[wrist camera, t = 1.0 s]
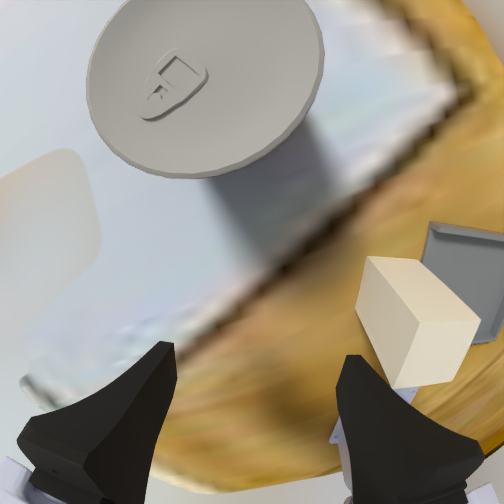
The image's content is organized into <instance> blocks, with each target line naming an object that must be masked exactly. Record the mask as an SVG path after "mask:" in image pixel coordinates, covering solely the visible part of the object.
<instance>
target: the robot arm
mask: <svg viewBox="0 0 504 504" xmlns="http://www.w3.org/2000/svg"><path fill="white" fill-rule="evenodd" d="M176 382H177V370H176V361H175V351H174V343H171V342H164V341H159V342H158V343H157V344H156V345H155V346H154V347H152V348H151V349H150V350H149V351H148V352H147V353H146V354H145V355H144V356H143V357H142V358H141V359H140V360H139V361H137V362H136V363H135V364H134V365H133V366H132V367H131V368H129V369H128V370H127V371H126V372H124V373H123V374H122V375H121V376H119V377H118V378H117V379H115V380H114V381H113V382H111V383H110V384H109V385H107V386H106V387H104V388H103V389H101V390H99V391H98V392H96V393H94V394H92V395H90V396H89V397H87V398H85V399H83V400H81V401H79V402H77V403H74V404H72V405H69V406H67V407H64V408H62V409H59V410H56V411H53V412H49V413H46V414H42V415H38V416H34V417H31V418H30V420H29V421H28V423H27V424H26V426H25V427H24V429H23V430H22V432H21V433H20V435H19V437H18V438H17V444H18V446H19V448H20V449H21V451H22V452H23V453H24V454H25V456H26V457H27V458H28V459H29V460H30V462H31V463H32V464H33V465H34V466H35V467H36V468H35V470H34V471H33V472H32V471H30V470H29V469H28V468H26V467H25V466H23V465H21V464H20V463H18V462H16V461H14V460H13V459H11V458H10V457H8V456H7V457H5V459H4V461H3V462H2V464H1V466H0V504H144V501H145V494H146V487H147V482H148V477H149V472H150V467H151V462H152V458H153V453H154V449H155V445H156V442H157V439H158V436H159V433H160V430H161V428H162V425H163V422H164V420H165V417H166V414H167V412H168V409H169V406H170V404H171V401H172V398H173V395H174V390H175V386H176ZM418 389H419V386H417V387H409V388H400V389H392V388H391V386H389V385H388V384H387V383H386V382H385V381H384V380H383V379H382V378H381V377H380V376H379V375H378V374H377V372H376V371H375V370H374V369H373V368H372V367H371V366H370V365H369V364H368V363H367V362H366V360H365V359H364V358H363V357H362V356H361V355H347V356H346V359H345V362H344V365H343V368H342V371H341V374H340V377H339V380H338V383H337V386H336V397H337V405H338V411H339V415H340V416H339V418H338V421H337V423H336V425H335V428H334V430H333V432H332V434H331V437H330V439H329V443H331V444H334V443H338V448H339V454H340V459H341V465H342V470H343V476H344V481H345V483H346V486H347V487H348V488H349V489H350V490H351V493H352V496H350V497H348V498H347V499H346V500H345V502H344V504H500V503H499V501H498V498H497V496H496V494H495V491H494V489H493V486H492V484H491V482H488V483H487V484H484V485H483V486H480V487H478V488H476V489H474V490H472V491H470V492H469V493H467V494H465V491H464V489H465V488H466V487H467V483H466V481H465V480H466V479H467V478H468V477H469V476H470V475H471V474H472V473H473V472H474V471H475V470H477V469H478V467H479V466H480V465H481V464H482V463H483V461H484V459H485V455H484V453H483V451H482V449H481V447H480V445H479V443H478V441H477V440H474V439H471V438H468V437H465V436H463V435H460V434H457V433H455V432H453V431H451V430H449V429H447V428H445V427H443V426H441V425H439V424H438V423H436V422H434V421H433V420H431V419H429V418H428V417H426V416H425V415H423V414H422V413H420V412H419V411H418V410H416V409H415V408H414V407H412V406H411V405H410V403H411V402H412V400H413V398H414V396H415V394H416V392H417V391H418Z"/></svg>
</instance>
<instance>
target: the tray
mask: <svg viewBox="0 0 504 504" xmlns="http://www.w3.org/2000/svg"><path fill="white" fill-rule="evenodd" d="M421 263H422V264H423V265H424V266H425V267H426V268H427V269H428V270H430V271H431V272H432V273H433V274H434V275H435V276H436V277H437V278H438V279H440V280H441V281H442V282H443V283H444V284H445V285H446V286H447V287H448V288H449V289H450V290H451V291H453V292H454V293H455V294H456V295H457V296H458V297H459V298H460V299H461V300H462V301H463V302H464V303H465V304H466V305H467V306H468V307H469V308H470V309H471V310H472V311H473V312H474V313H475V314H476V315H477V316H478V317H479V318H480V319H481V322H480V324H479V327H478V329H477V331H476V333H475V336H474V338H473V340H472V342H471V344H477V343H484V342H491V341H496V338H497V336H498V334H499V332H500V330H501V327H502V325H503V323H504V233H499V232H493V231H488V230H482V229H476V228H470V227H464V226H458V225H451V224H445V223H438V222H431V221H430V224H429V229H428V234H427V238H426V243H425V247H424V252H423V256H422V260H421Z"/></svg>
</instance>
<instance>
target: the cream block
mask: <svg viewBox="0 0 504 504" xmlns="http://www.w3.org/2000/svg"><path fill="white" fill-rule="evenodd" d="M355 310H356V312H357V314H358V317H359V319H360V321H361V323H362V325H363V327H364V329H365V331H366V333H367V335H368V337H369V339H370V341H371V344H372V346H373V348H374V350H375V352H376V354H377V357H378V359H379V361H380V363H381V365H382V368H383V370H384V372H385V374H386V376H387V379H388V381H389V383H390V386H391V388H392V389H400V388H409V387H417V386H424V385H431V384H438V383H444V382H450V381H452V380H453V378H454V376H455V374H456V373H457V371H458V369H459V367H460V365H461V363H462V361H463V359H464V357H465V355H466V353H467V351H468V349H469V347H470V345H471V342H472V340H473V338H474V336H475V333H476V331H477V329H478V327H479V324H480V322H481V319H480V318H479V317H478V316H477V315H476V314H475V313H474V312H473V311H472V310H471V309H470V308H469V307H468V306H467V305H466V304H465V303H464V302H463V301H462V300H461V299H460V298H459V297H458V296H457V295H456V294H455V293H454V292H453V291H451V290H450V289H449V288H448V287H447V286H446V285H445V284H444V283H443V282H442V281H441V280H440V279H438V278H437V277H436V276H435V275H434V274H433V273H432V272H431V271H430V270H428V269H427V268H426V267H425V266H424V265H423V264H422V263H421V262H419V261H418V260H416V259H402V258H389V257H375V256H366V261H365V266H364V271H363V276H362V281H361V285H360V290H359V294H358V298H357V302H356V307H355Z"/></svg>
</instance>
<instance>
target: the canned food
mask: <svg viewBox="0 0 504 504" xmlns="http://www.w3.org/2000/svg"><path fill="white" fill-rule="evenodd" d="M324 56H325V51H324V44H323V38H322V32H321V29H320V27H319V24H318V22H317V20H316V17H315V15H314V13H313V11H312V10H311V9H310V7H309V6H308V4H307V3H306V2H305V0H127V1H126V2H125V3H123V4H122V5H121V6H120V8H119V9H118V10H117V11H116V12H115V13H114V15H113V16H112V17H111V18H110V19H109V21H108V22H107V24H106V25H105V27H104V29H103V30H102V32H101V34H100V35H99V37H98V39H97V41H96V43H95V46H94V49H93V51H92V54H91V57H90V60H89V65H88V71H87V77H86V98H87V104H88V108H89V112H90V116H91V120H92V122H93V124H94V126H95V128H96V130H97V132H98V134H99V136H100V137H101V139H102V140H103V141H104V142H105V144H106V145H107V146H108V147H109V148H110V150H111V151H112V152H113V153H114V154H116V155H117V156H118V157H120V158H121V159H122V160H124V161H125V162H126V163H127V164H129V165H131V166H133V167H135V168H137V169H140V170H142V171H144V172H146V173H149V174H153V175H157V176H162V177H166V178H177V179H200V178H207V177H213V176H220V175H223V174H226V173H229V172H232V171H235V170H238V169H241V168H244V167H246V166H248V165H250V164H252V163H253V162H255V161H257V160H259V159H261V158H263V157H264V156H266V155H268V154H269V153H270V152H271V151H273V150H274V149H275V148H276V147H278V146H279V145H280V144H281V143H283V142H284V141H285V140H286V139H287V138H288V137H289V136H290V135H291V134H292V133H293V131H294V130H295V129H296V128H297V127H298V126H299V125H300V123H301V122H302V121H303V119H304V118H305V116H306V114H307V113H308V111H309V109H310V107H311V106H312V104H313V102H314V100H315V97H316V94H317V91H318V88H319V85H320V82H321V79H322V76H323V67H324Z"/></svg>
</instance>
